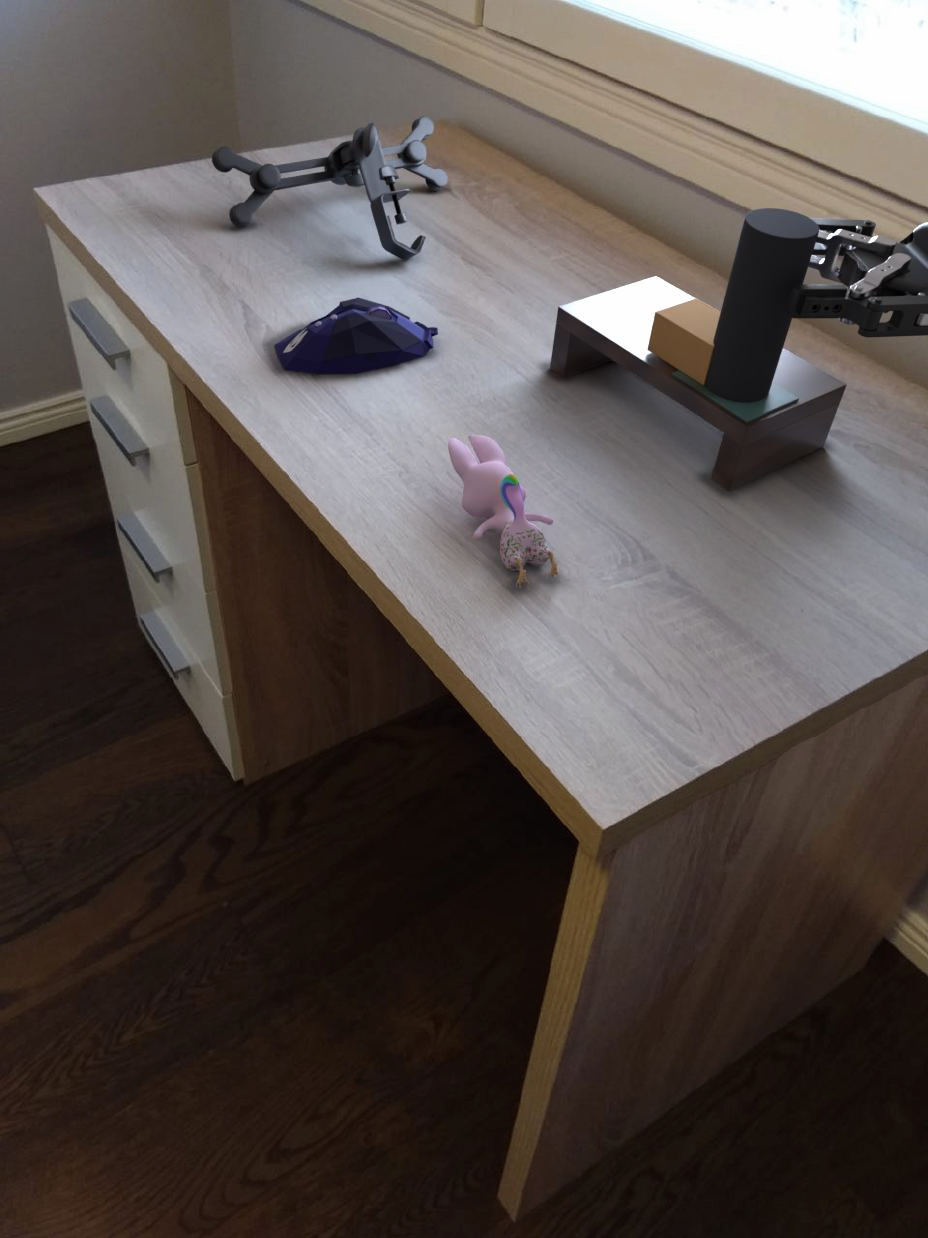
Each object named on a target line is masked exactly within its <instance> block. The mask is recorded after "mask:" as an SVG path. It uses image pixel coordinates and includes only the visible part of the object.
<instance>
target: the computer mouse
mask: <svg viewBox="0 0 928 1238" xmlns="http://www.w3.org/2000/svg"><path fill="white" fill-rule="evenodd" d="M438 334H439V330H438V327H435V326H430V327H429V326H427V325H425V324H424V323H422V322H419V321H412V320H411V317H410V316H408V315H406V314H404V313H403V312H402V311H401V312H400V311H399V310H397V309H395V308H394V307H391V306H389V305H385V304H382V303H378V302H376V301H372V300H368V299H365V298H362V297H355V298H350V299H346V300H341V301H339V305H337V306H336V307H335V308H333V309H332V310H331V311H330V312H328V313H327V314H326V315H324V316H322V317H320V318H317V319H315V320H313V321H311V322H310V323H308V324H307V325H306V326H304V327H303V328H299V329H298V330H296V331H294V332H293V333H290V335H288V336H287V337H285V338H283V339H281V340H280V341H278V342H276V343H275V344H274V348H275V353H276V356H277V359H278V361H279V363H280V365H281V367H282V369H283V371H290V372H297V373H305V374H311V375H355V374H356V375H358V374H362V373H363V374H364V373H367V372H372V371H376V370H381V369H386V368H390V367H394V366H397V365H400V364H404V363H407V362H410V361H414V360H416V359H419V358H422V357H425V356H426V355H427V354H428V353H429V352H430V351H432V350H433V349H434V348H435V347H434V339H433V337H435V336H437V335H438Z"/></svg>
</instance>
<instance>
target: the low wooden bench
mask: <svg viewBox="0 0 928 1238" xmlns="http://www.w3.org/2000/svg"><path fill="white" fill-rule="evenodd" d="M693 299H696V297H694V296H692V295H690V294H688V293H687V292H685V291H683V290H681V289H680V288H678V287H676V286H674V285H672V284H671V283H669V282H667V281H665V280H664V279H662V278H661V277H658V276H657V275H655V276H652V277H648V278H646V279H641V280H639V281H636V282H632V283H629V284H626V285H623V286H620V287H616V288H613V289H611V290H607V291H604V292H600V293H597V294H594V295H591V296H587V297H585V298H581V299H577V300H575V301H572V302H569V303H568V302H567V303H565V304H562V305H559V306H558V307H557V313H556V319H555V327H554V335H553V342H552V350H551V357H550V365H549V368H550V369H551V370H553V371H554V372H555V373H557V374H558V375H560V376H561V377H563V378H565V377H569V376H572V375H574V374H577V373H580V372H582V371H585V370H588V369H591V368H594V367H597V366H599V365H602V364H606V363H609V362H611V361H613V362H615V363H616V364H618V365H619V366H621V367H622V368H624V369H625V370H627V371H628V372H630V374H633V375H635V376H636V377H638V378H639V379H640V380H642V381H644V382H645V383H646V384H648V385H650V386H651V387H653V388H654V389H656V390H657V391H659V392H661V393H662V394H664V395H665V396H666V397H668V398H670V399H671V400H673V401H674V402H675V403H677V404H679V405H680V406H682V407H683V408H684V409H686V410H688V411H690V413H692V414H694V415H695V416H697V417H699V418H700V419H702V420H703V421H705V422H706V423H708V424H709V425H710V426H713V427H714V428H715V429H717V430H719V431H720V432H722V433H723V434H722V438H721V440H720V444H719V448H718V451H717V454H716V457H715V461H714V465H713V469H712V472H711V475H710V480H712V481H713V482H714V483H716V484H717V485H718V486H720V487H721V488H723V489H724V490H726V491H727V492H730V491H732V490H734V489H736V488H738V487H741V486H742V485H745V484H747V483H750V482H751V481H753V480H756V479H759V478H760V477H762V476H764V475H766V474H768V473H770V472H772V471H775V470H777V469H778V468H781V467H783V466H785V465H788V464H790V463H791V462H793V461H795V460H798V459H799V458H802V457H805V456H806V455H808V454H810V453H813V452H814V451H817V450H819V449H821V448H823V447H825V444H826V441H827V439H828V436H829V433H830V431H831V428H832V425H833V422H834V420H835V417H836V414H837V412H838V410H839V406H840V404H841V402H842V399H843V397H844V393H845V390H846V388H847V386H848V384H847V383H845V382H843V381H842V380H841V379H838V378H836V377H835V376H833V375H831V374H830V373H827V372H826V371H824V370H822V369H821V368H819V367H817V366H815V365H814V364H812V363H810V362H808V361H807V360H805V359H804V358H801V357H800V356H798V355H796V354H794V353H792V352H791V351H789V350H787V349H785V348H784V347H783V349H782V353H781V356H780V359H779V362H778V365H777V369H776V372H775V375H774V378H773V382H772V385H771V388H770V391H769V394H768V395H767V396H766V397H765V398H764V399H762V400H759V401H755V402H736V401H731V400H727V399H724V398H722V397H719V396H717V395H715V394H714V393H712V392H711V391H710V390H709V389H708V388H707V387H706V386H705V385H702V384H701V383H699V382H697V381H696V380H694V379H693V378H691V377H690V376H688V375H686V374H685V373H683V372H682V371H680V370H678V369H677V368H675V367H674V366H672V365H671V364H669V363H667V362H666V361H664V360H663V359H661V358H659V357H658V356H656V355H655V354H653V353H651V352H650V351H648V350H647V349H648V344H649V339H650V334H651V330H652V325H653V320H654V315H655V312H657V311H660V310H663V309H666V308H669V307H672V306H675V305H678V304H681V303H684V302H687V301H690V300H693Z"/></svg>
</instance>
